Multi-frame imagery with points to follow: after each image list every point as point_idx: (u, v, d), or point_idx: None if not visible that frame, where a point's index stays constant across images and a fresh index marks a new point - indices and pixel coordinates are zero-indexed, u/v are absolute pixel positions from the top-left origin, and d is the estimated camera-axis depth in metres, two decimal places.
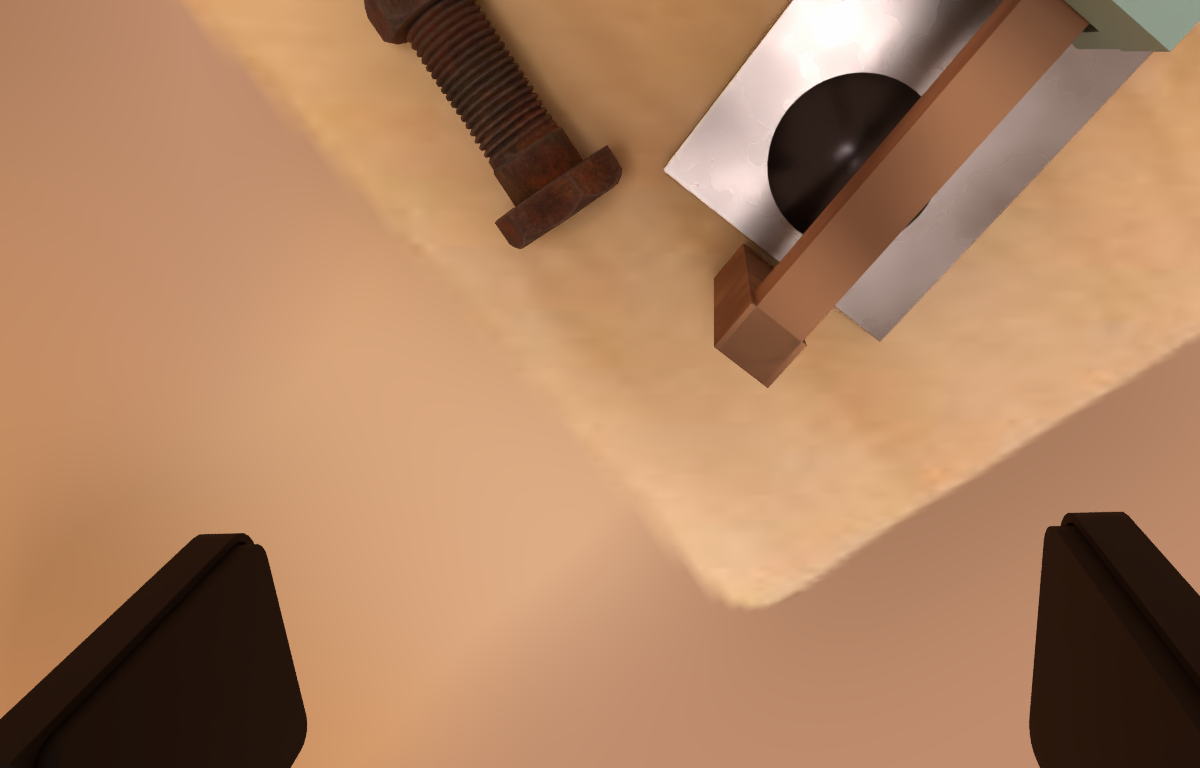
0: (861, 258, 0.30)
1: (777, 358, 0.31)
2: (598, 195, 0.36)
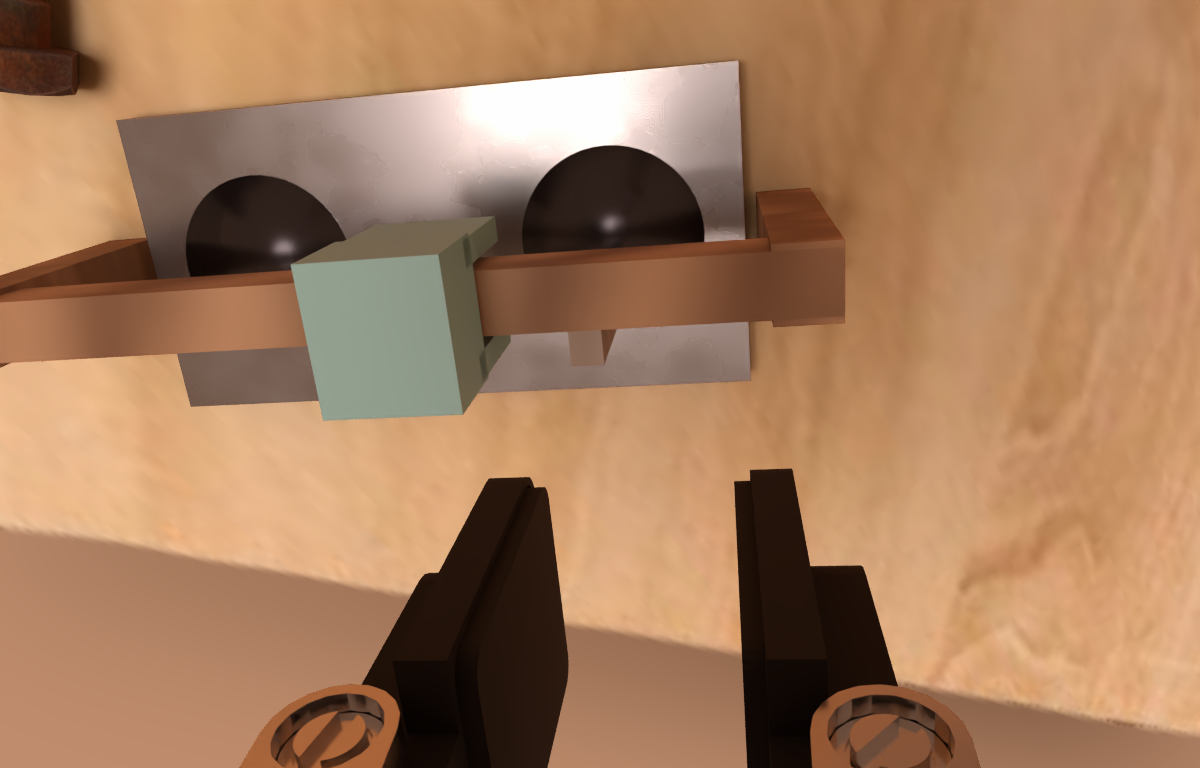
0: (84, 346, 0.29)
1: None
2: (9, 91, 0.32)
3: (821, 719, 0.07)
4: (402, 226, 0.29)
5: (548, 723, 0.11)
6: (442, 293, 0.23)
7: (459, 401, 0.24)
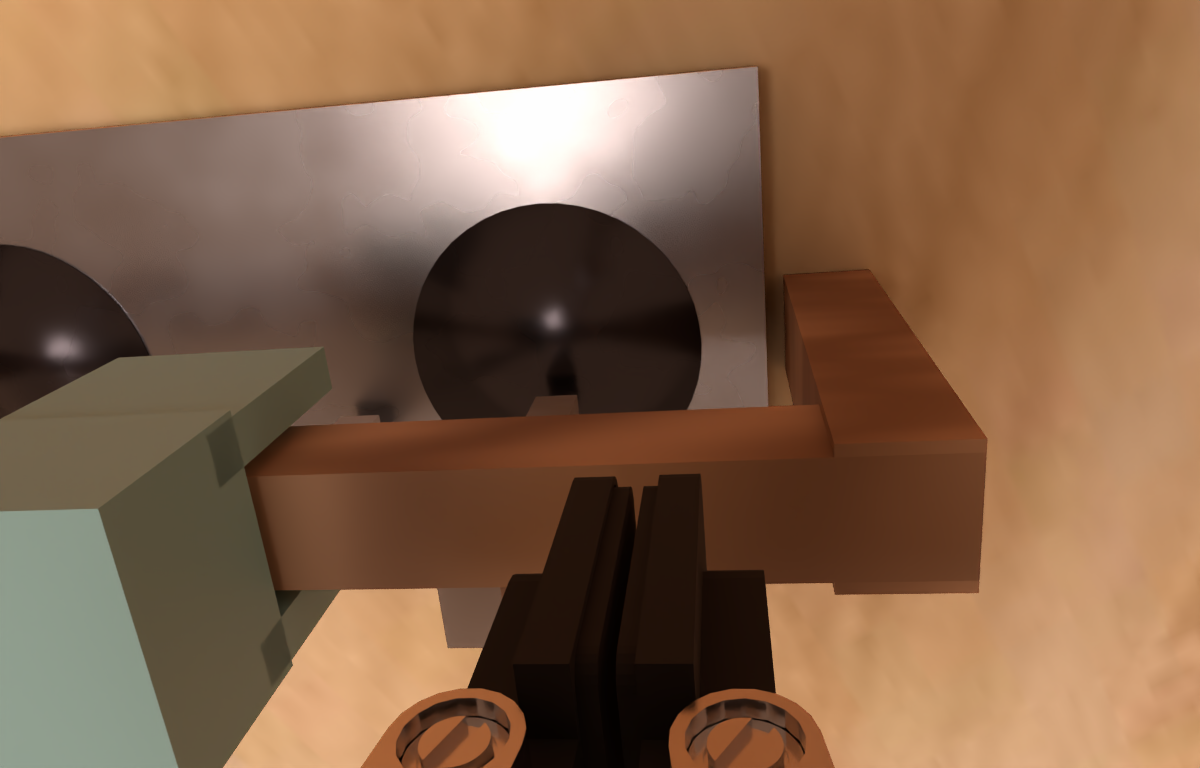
0: None
1: None
2: None
3: (681, 722, 0.07)
4: (153, 367, 0.16)
5: None
6: (118, 587, 0.11)
7: None
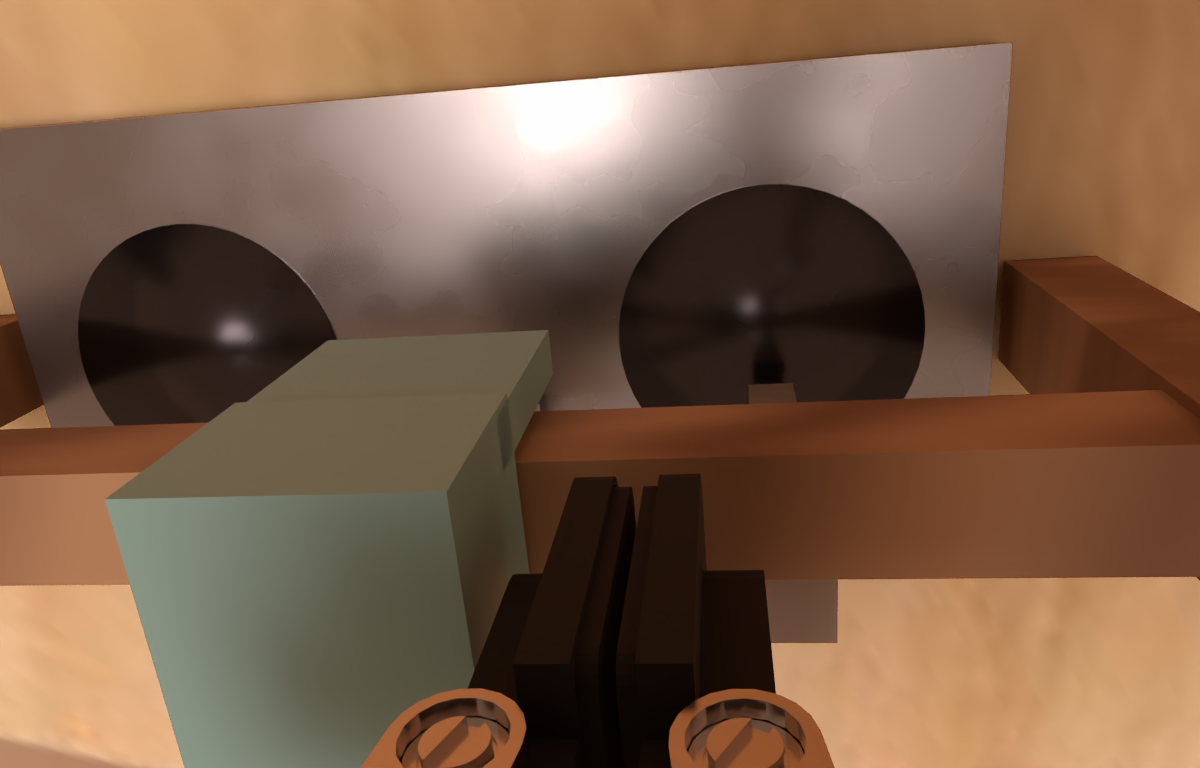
0: None
1: None
2: None
3: (680, 723, 0.07)
4: (376, 350, 0.15)
5: None
6: (454, 576, 0.10)
7: None
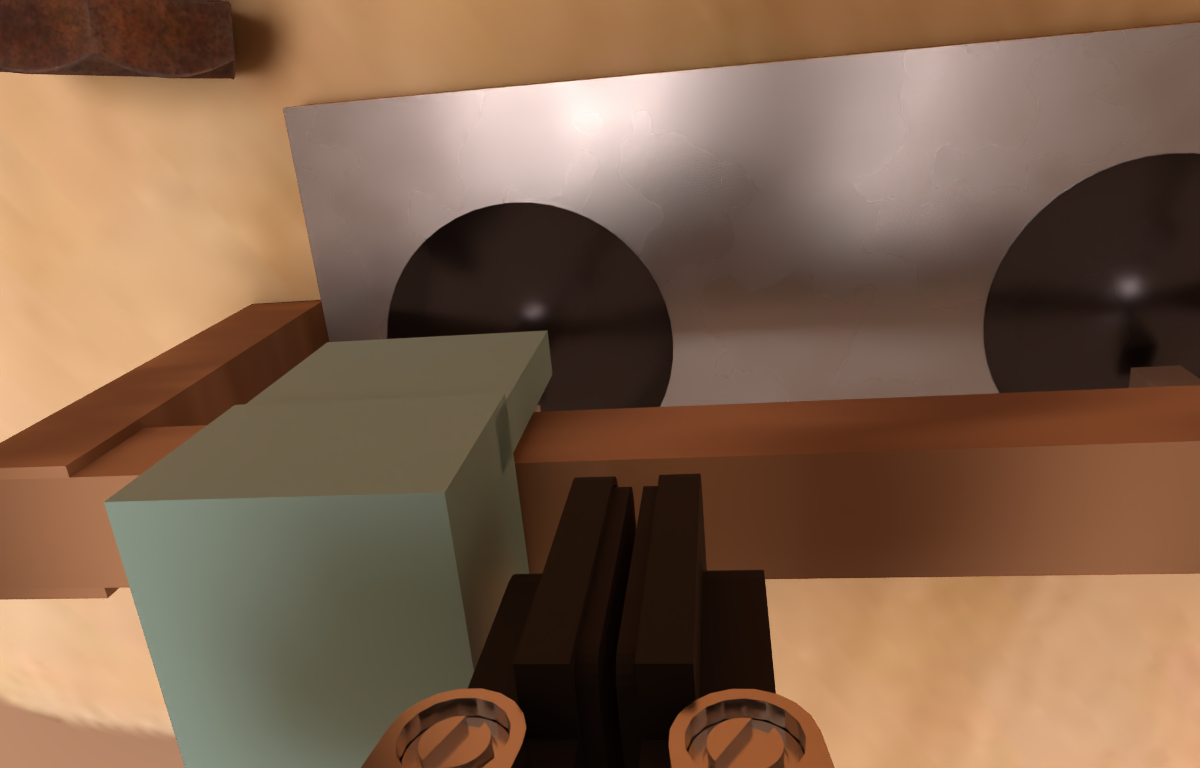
0: None
1: (46, 575, 0.15)
2: (138, 73, 0.18)
3: (681, 722, 0.07)
4: (375, 351, 0.15)
5: None
6: (452, 576, 0.10)
7: None
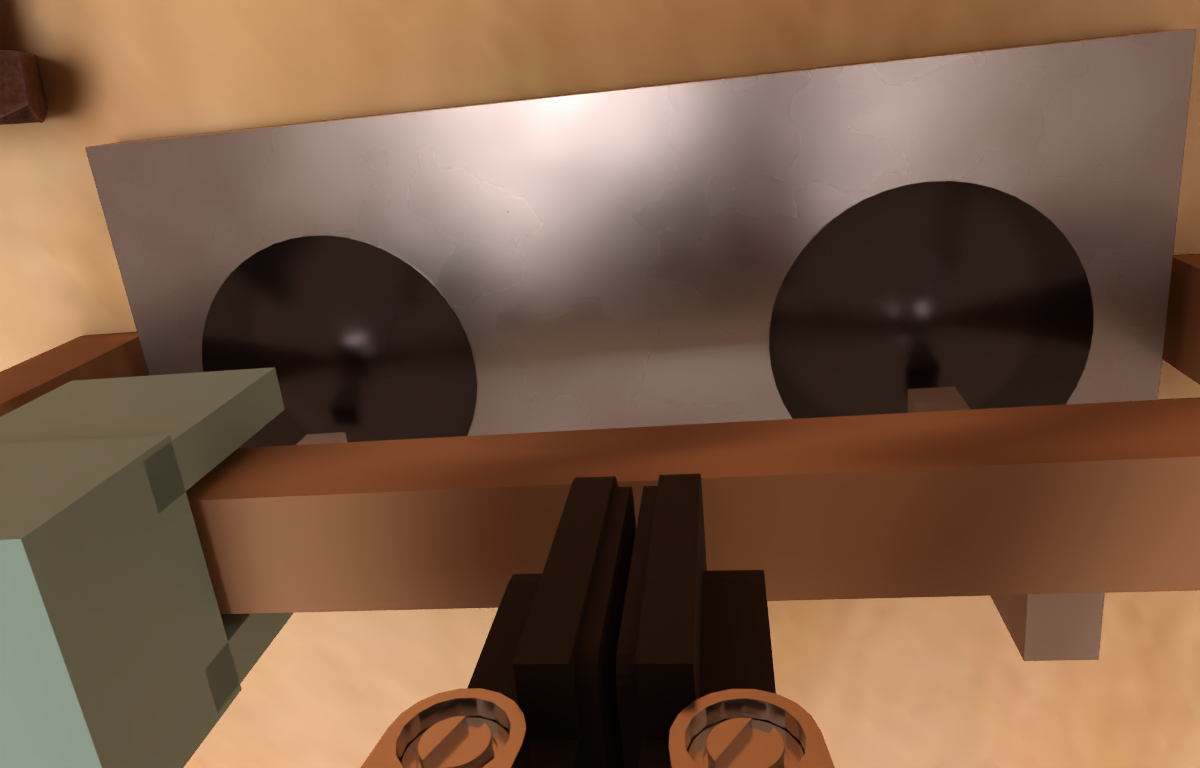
0: None
1: None
2: None
3: (681, 722, 0.07)
4: (104, 390, 0.16)
5: None
6: (44, 617, 0.11)
7: None
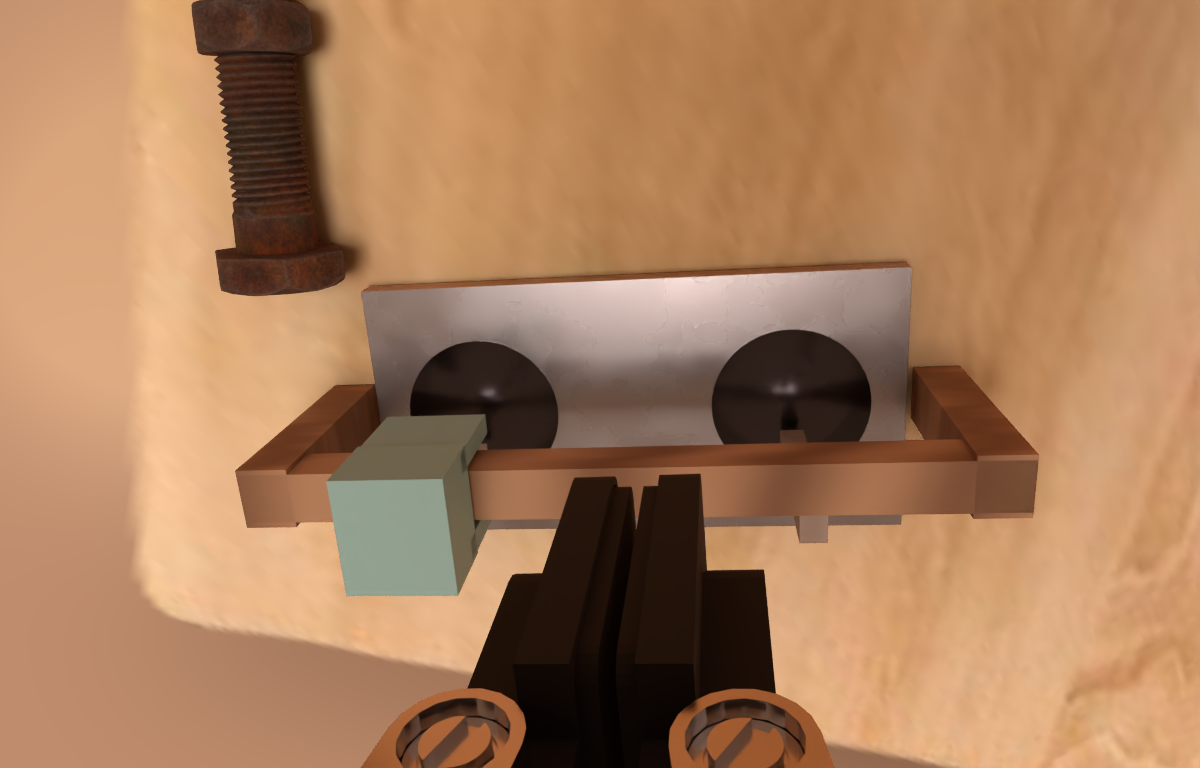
0: None
1: (270, 516, 0.35)
2: (305, 291, 0.38)
3: (681, 722, 0.07)
4: (410, 422, 0.35)
5: None
6: (444, 507, 0.30)
7: (455, 586, 0.31)
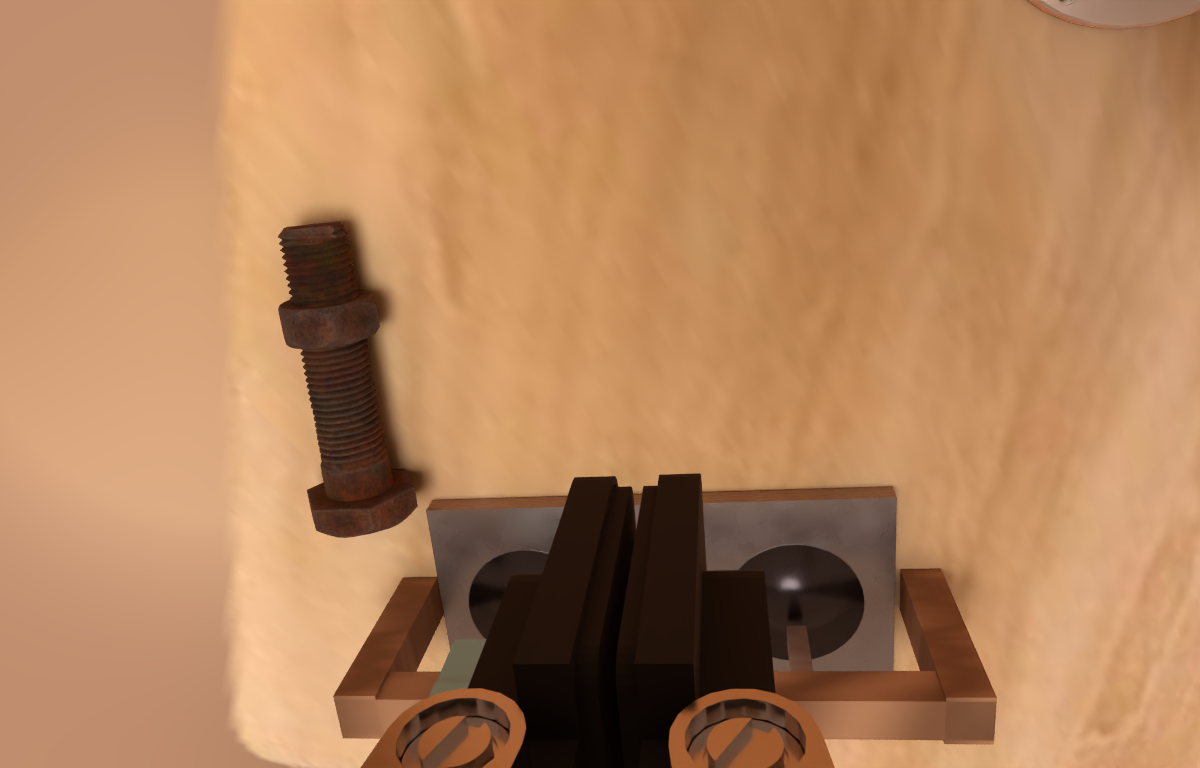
0: None
1: (362, 730, 0.42)
2: (386, 528, 0.45)
3: (681, 722, 0.07)
4: (475, 648, 0.43)
5: None
6: None
7: None
